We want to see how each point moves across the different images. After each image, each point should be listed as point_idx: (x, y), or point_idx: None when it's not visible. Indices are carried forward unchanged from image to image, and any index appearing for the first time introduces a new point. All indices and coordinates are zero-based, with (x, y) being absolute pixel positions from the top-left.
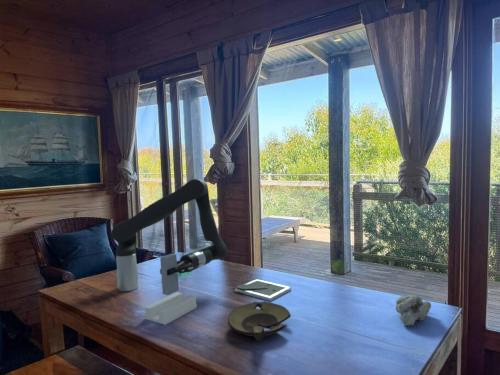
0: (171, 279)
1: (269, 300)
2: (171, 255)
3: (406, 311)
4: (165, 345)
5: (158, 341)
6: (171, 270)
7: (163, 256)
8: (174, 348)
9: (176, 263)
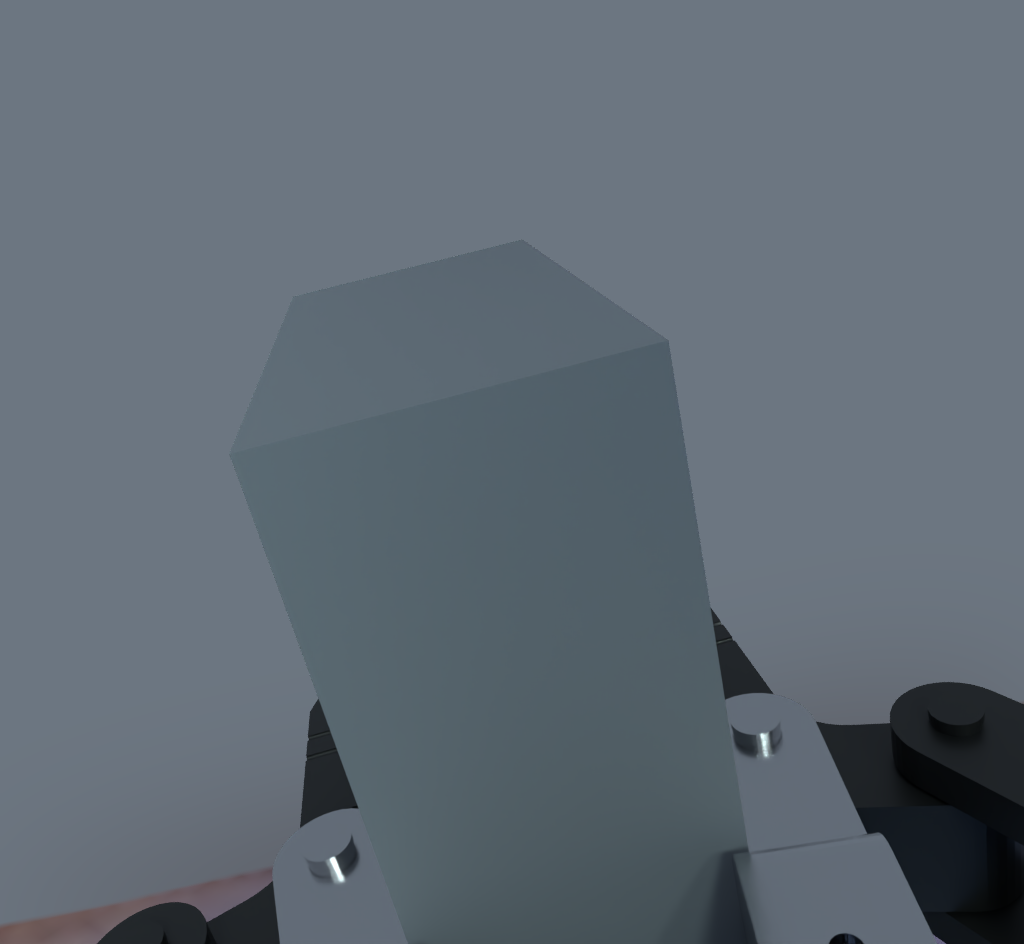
0: None
1: None
2: (347, 354)
3: None
4: (120, 909)
5: (224, 894)
6: (322, 729)
7: (521, 259)
8: (14, 940)
9: (376, 842)
